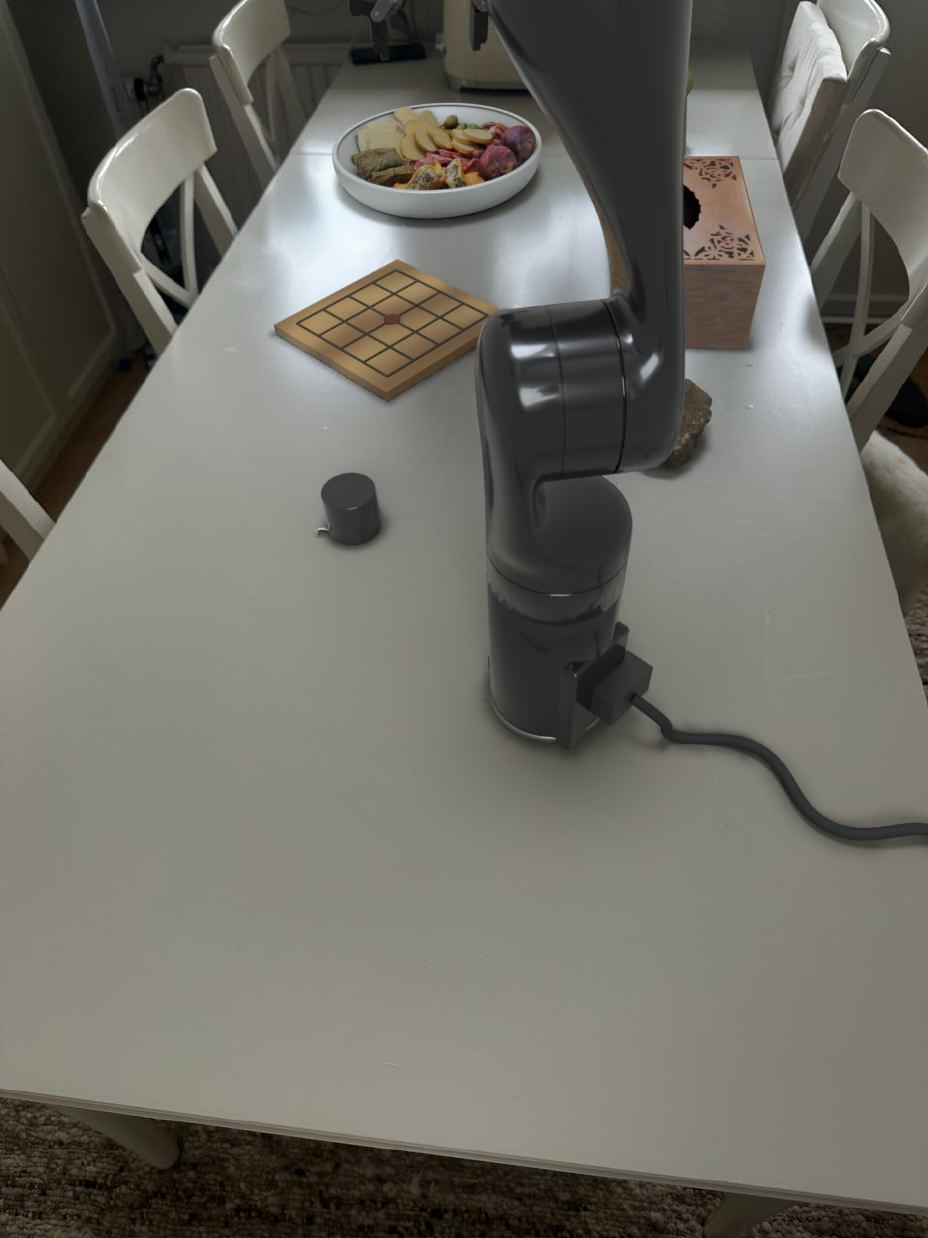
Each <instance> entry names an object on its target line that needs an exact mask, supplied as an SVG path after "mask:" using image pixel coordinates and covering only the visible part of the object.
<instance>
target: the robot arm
mask: <svg viewBox="0 0 928 1238" xmlns="http://www.w3.org/2000/svg"><path fill="white" fill-rule="evenodd" d="M398 1H399V0H347V4H348V10H349V14H350V15H351V16H353V17H355V18H356V17H361V15H362V16H365V17H366V18H368V20H369V31H370V40H371V41H370V42H371V46H372V51H373V52H374V55H379V56H380V59H381V61H389V60H390V50H389V49H390V48H389V34H388V20H387V14H388V12H389V11H390V9H391V8H392V6H393V5H394V3H395V4H396V3H397V2H398ZM693 3H694V0H469V25H468V27H469V28H468V30H469V32H468V36H469V43H470V47H471V51H472V52H480V51H481V49H482V47H481V46H482V45H485V44H486V43H487V40H488V38H489V37H488V35H489V21H490V22H491V24H492V27H493V29H494V31H495V33H496V36H497V38H498V40H499V41H500V44H501V46H502V47H503V49H504V51H505V53H506V54H507V56H508V58H509V59H510V62H511V63H512V65H513V67H514V69H515V70H516V72H517V73H518V75H519V78H520V79H521V81H522V82H523V84H524V86H525V87H526V88H527V90H528V91H529V93H530V95H531V96H532V98H533V100H534V102H535V103H536V104H537V106H538V108H539V109H540V111H541V112H542V114H543V115H544V117H545V119H546V120H547V122H548V123H549V125H550V126H551V128H552V129H553V131H554V133H555V135H556V136H557V138H558V139H559V141H560V143H561V144H562V146H563V148H564V149H565V151H566V153H567V155H568V157H569V158H570V160H571V162H572V164H573V165H574V168H575V169H576V172H577V174H578V175H579V177H580V180H581V182H582V184H583V186H584V188H585V190H586V192H587V194H588V197H589V199H590V201H591V203H592V206H593V208H594V211H595V213H596V216H597V219H598V221H599V226H600V229H601V232H602V236H603V240H604V245H605V249H606V255H607V261H608V270H609V286H610V287H609V288H610V289H609V295H608V297H606V298H600V299H598V298H597V299H588V300H579V301H571V302H561V303H552V304H543V305H533V306H526V307H525V306H524V307H523V306H522V307H515V308H509V309H503V311H499V312H496V313H494V314H492V315H491V316H490V317H488V318H487V319H486V321H485V323H484V324H483V326H482V328H481V331H480V333H479V336H478V340H477V346H475V350H474V351H475V353H474V385H475V386H474V388H475V401H476V402H475V403H476V410H477V421H478V429H479V438H480V446H481V447H480V448H481V457H482V458H481V459H482V468H483V483H484V484H483V488H484V515H485V516H484V519H485V555H486V556H485V557H486V558H485V559H486V593H487V622H488V623H487V624H488V625H487V626H488V650H489V651H488V652H489V654H488V656H487V667H488V669H489V676H490V678H489V685H488V686H489V688H488V689H489V700H490V701H489V702H490V704H491V707H492V709H493V712H494V714H495V715H496V717H497V718H498V720H499V721H500V722H501V723H502V724H503V726H505V727H506V728H507V729H508V730H510V731H511V732H512V733H514V734H516V735H517V736H519V737H522V738H524V739H526V740H530V741H534V742H537V743H546V744H556V745H558V746H560V747H562V749H564V750H566V751H569V750H571V749H572V748H573V747H574V746H575V745H576V744H577V743H578V742H579V741H580V740H581V739H582V738H583V737H584V736H585V735H586V734H588V732H590V731H591V730H592V729H593V728H595V727H596V726H597V724H598V723H600V721H601V722H603V723H604V724H606V725H607V726H609V727H612V726H614V725H615V724H616V723H617V722H618V721H619V720H620V719H621V718H622V717H623V716H624V715H625V714H626V713H627V712H628V711H629V710H630V709H631V708H632V707H635V709H637V710H638V711H640V712H641V713H642V714H644V715H645V716H646V717H647V718H649V719H650V720H652V721H653V722H654V723H655V724H656V725H657V726H659V727H660V733H661V735H662V737H663V738H664V739H667V740H670V741H672V742H676V743H679V744H684V745H685V744H686V745H709V746H728V747H734V748H739V749H743V750H746V751H748V752H751V753H753V754H755V755H756V756H757V757H759V758H761V759H762V760H763V761H765V763H767V764H768V765H769V766H770V767H771V769H773V772H775V774H776V775H777V776H778V778H779V780H780V781H781V783H782V785H783V786H784V788H785V790H786V791H787V794H788V795H789V796H790V798H791V799H792V801H793V803H794V804H795V806H796V807H797V808H798V810H799V811H800V812H801V813H802V814H803V815H804V817H806V818H807V820H808V821H810V822H811V823H812V824H814V825H815V826H816V827H818V828H819V829H821V830H822V831H824V832H826V833H827V834H831V835H833V836H835V837H837V838H842V839H847V840H850V841H883V840H889V839H897V838H904V837H913V836H923V837H925V836H926V837H928V823H927V822H904V823H897V824H890V825H889V824H888V825H882V826H874V827H873V826H872V827H857V826H848V825H844V824H841V823H838V822H836V821H833V820H832V819H830V818H828V817H827V816H824V815H823V814H822V813H820V811H818V810H817V809H816V808H815V807H814V806H813V805H812V804H811V803H810V801H809V800H808V798H807V797H806V795H805V794H804V793H803V791H802V790H801V788H800V786H799V784H798V783H797V782H796V780H795V778H794V776H793V775H792V773H791V771H790V770H789V768H788V767H787V766H786V765H785V763H784V762H783V761H782V760H781V758H780V757H779V756H778V755H777V754H775V753H774V752H773V751H772V750H771V749H770V748H768V747H766V746H765V745H763V744H761V743H760V742H758V741H756V740H753V739H751V738H748V737H745V736H741V735H736V734H727V733H696V732H695V733H694V732H684V731H679V730H676V729H673V728H674V727H673V723H672V722H671V719H670V718H668V716H666V715H665V714H664V713H663V712H662V711H660V709H658V708H657V707H656V706H654V705H653V704H651V703H650V702H649V701H647V700H646V699H645V698H644V697H643V696H644V695H645V693H647V692H648V691H649V688H650V683H651V680H652V679H651V678H652V674H653V670H654V667H653V666H652V665H651V664H650V663H648V662H647V661H645V660H643V659H642V658H641V657H639V656H638V655H636V654H635V653H633V652H632V651H630V650H627V649H628V641H629V635H630V628H629V626H627V625H626V624H625V623H623V622H621V621H620V614H621V608H622V601H623V595H624V587H625V584H626V583H625V582H626V577H627V576H626V575H627V569H628V562H629V555H630V550H631V544H632V538H633V526H634V524H633V522H634V521H633V514H632V510H631V506H630V505H629V502H628V500H627V499H626V497H625V495H624V494H623V493H622V491H621V490H620V489H619V488H618V487H617V486H616V485H615V484H614V483H612V482H611V481H610V480H609V479H607V477H605V476H608V475H609V476H610V475H620V474H626V473H634V472H641V471H645V470H649V469H653V468H656V467H658V465H660V464H662V463H663V462H664V461H665V460H666V459H667V458H668V457H669V456H670V454H671V453H672V451H673V449H674V446H675V444H676V441H677V438H678V434H679V430H680V425H681V420H682V413H683V404H684V391H685V378H686V348H685V291H684V232H683V167H684V156H685V155H684V133H685V110H686V95H687V79H688V70H689V64H690V63H689V62H690V61H689V60H690V47H691V46H690V45H691V31H692V19H693V18H692V17H693ZM489 19H490V20H489Z"/></svg>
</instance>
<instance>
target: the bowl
mask: <svg viewBox="0 0 928 1238" xmlns="http://www.w3.org/2000/svg"><path fill="white" fill-rule="evenodd" d="M541 156H542V137H541V135H540V132H539V130H538V129H537V128H536V127H535V126H534V125H533V124H532V123H531V122H530V121H528V120H526V119H525V118H524V117H522V116H520V115H518V114H516V113H514V112H511V111H507V110H505V109H502V108H497V107H494V106H489V105H483V104H476V103H466V102H434V103H423V104H415V105H405V106H402V107H399V108H394V109H393V108H392V109H389V110H386V111H383V112H379V113H377V114H374V115H371V116H369V117H367V118H364V119H362V120H361V121H358V122H357V123H355V124H353V125H352V126H350V127H349V128H347V129H346V130H345V131H343V133H341V134H340V135H339V136H338V137H337V140H335V142H334V144H333V146H332V149H331V159H332V166H333V169H334V173H335V175H336V178H337V179H338V181H339V183H340V185H341V186H342V187H343V189H345V191H346V192H347V193H348V194H349V195H350V196H351V197H353V198H354V199H355V200H356V201H358V202H359V203H360V204H363V205H365V206H367V207H369V208H371V209H374V210H376V211H378V212H382V213H385V214H388V215H392V216H396V217H404V218H410V219H411V218H413V219H445V218H455V217H460V216H466V215H471V214H475V213H479V212H482V211H485V210H488V209H491V208H493V207H496V206H498V205H501V204H503V203H504V202H506V201H508V200H510V199H511V198H513V197H514V196H515V195H517V194H518V193H519V192H520V191H522V190H523V189H524V188H525V187H526V186H527V185H528V184H529V182H530V181H531V180H532V179H533V177H534V175H535V173H536V172H537V169H538V167H539V164H540V160H541Z"/></svg>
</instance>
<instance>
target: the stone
mask: <svg viewBox="0 0 928 1238" xmlns="http://www.w3.org/2000/svg"><path fill="white" fill-rule="evenodd" d="M712 405H713V397H712V396H711V395H710V394H709V393H708V392H706V391H705V390H703V389H702V388H700V387H699V385H697V384H696V383H695V382H693V380H692V379H689V378H686V377H685V391H684V404H683V413H682V420H681V425H680V430H679V434H678V438H677V441H676V444H675V446H674V449H673V451H672V453H671V454H670V456H669V457H668V458H667V459H666V460H665V461H664V462H663V463H662V464H660V465H658V466H657V468H666V469H669V470H675V469H678V468H680V467H682V466H684V465H687V464H688V463H689V462H690V461H691V459H692V456H693V452H694V449H696V447H697V445H698V443H699V439H700V436H701V435H702V433H703V431H704V429H705V426H706V425H707V424H709V422H710V421H711V420H712V419H711V418H712V417H713V411H712V410H711V407H712Z"/></svg>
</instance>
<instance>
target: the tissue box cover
mask: <svg viewBox="0 0 928 1238" xmlns="http://www.w3.org/2000/svg"><path fill="white" fill-rule="evenodd" d="M741 163H742V162H741V160H740V156H739V155H684V167H683V232H684V291H685V349H712V350H713V349H720V350H722V349H723V350H727V349H728V350H746V349H747V345H748V342H749V338H750V334H751V329H752V326H753V325H752V324H753V321H754V317H755V313H756V309H757V304H758V300H759V296H760V291H761V287H762V282H763V279H764V274H765V271H766V266H767V263H766V259H765V255H764V251H763V248H762V243H761V240H760V239H761V238H760V235H759V231H758V228H757V223H756V220H755V216H754V213H753V212H754V211H753V207H752V203H751V200H750V195H749V192H748V187H747V184H746V180H745V176H744V172H743V167H742V164H741Z"/></svg>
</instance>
